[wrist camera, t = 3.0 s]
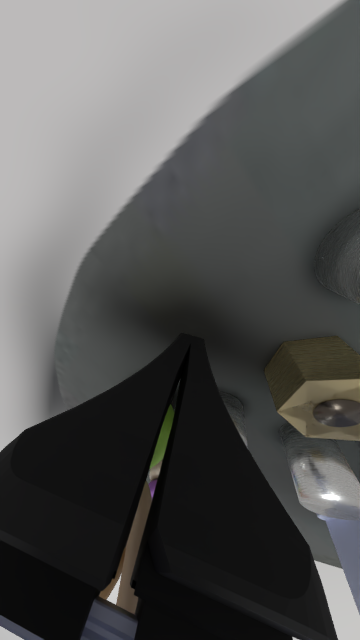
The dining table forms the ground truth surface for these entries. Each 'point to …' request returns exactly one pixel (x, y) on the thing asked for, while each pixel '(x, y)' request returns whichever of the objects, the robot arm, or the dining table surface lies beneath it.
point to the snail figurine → (138, 530)
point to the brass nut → (317, 387)
